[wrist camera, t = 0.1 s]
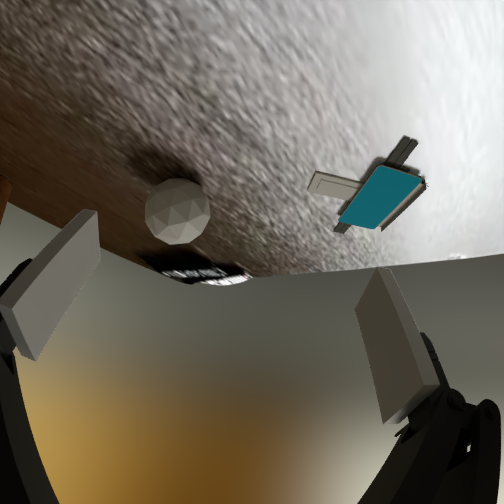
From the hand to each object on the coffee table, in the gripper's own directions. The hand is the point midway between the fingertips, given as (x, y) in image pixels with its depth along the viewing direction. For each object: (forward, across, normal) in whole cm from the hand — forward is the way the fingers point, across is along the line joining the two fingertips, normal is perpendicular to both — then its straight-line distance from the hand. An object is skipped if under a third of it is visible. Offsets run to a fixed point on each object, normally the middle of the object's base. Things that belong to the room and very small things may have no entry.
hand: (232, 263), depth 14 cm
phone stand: (+21, +13, -1) cm, 24 cm away
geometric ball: (+24, -7, -6) cm, 26 cm away
